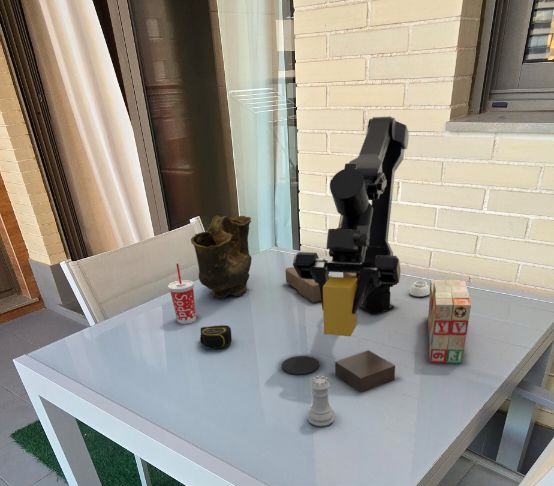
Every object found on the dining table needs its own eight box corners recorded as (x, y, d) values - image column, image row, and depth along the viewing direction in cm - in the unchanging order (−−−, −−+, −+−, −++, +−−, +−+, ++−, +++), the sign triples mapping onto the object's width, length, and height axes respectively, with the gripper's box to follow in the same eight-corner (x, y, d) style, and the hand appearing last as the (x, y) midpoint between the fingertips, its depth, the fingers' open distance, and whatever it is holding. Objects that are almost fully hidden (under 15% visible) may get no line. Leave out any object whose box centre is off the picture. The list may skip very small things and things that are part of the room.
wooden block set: (314, 283, 131) (283, 264, 145) (314, 305, 135) (285, 284, 149) (373, 269, 137) (338, 252, 150) (373, 291, 140) (338, 272, 154)
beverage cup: (169, 323, 131) (158, 266, 123) (182, 314, 136) (172, 258, 128) (191, 326, 129) (181, 268, 121) (203, 316, 133) (195, 259, 126)
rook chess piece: (306, 414, 93) (304, 374, 89) (331, 411, 94) (331, 371, 89) (309, 429, 90) (308, 387, 85) (336, 426, 90) (336, 384, 85)
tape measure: (232, 337, 122) (230, 322, 120) (232, 350, 116) (230, 334, 114) (202, 340, 122) (199, 324, 120) (200, 353, 116) (198, 337, 114)
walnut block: (335, 375, 104) (335, 361, 103) (368, 363, 107) (368, 350, 106) (360, 392, 98) (360, 378, 97) (394, 379, 101) (395, 365, 100)
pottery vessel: (228, 275, 158) (219, 204, 147) (263, 276, 155) (257, 204, 144) (191, 307, 139) (179, 228, 128) (230, 310, 135) (221, 229, 124)
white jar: (413, 289, 139) (406, 296, 135) (414, 278, 137) (407, 284, 134) (432, 292, 136) (425, 298, 133) (433, 280, 135) (426, 287, 131)
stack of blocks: (427, 319, 123) (432, 265, 116) (455, 319, 122) (462, 265, 115) (429, 363, 106) (435, 303, 99) (463, 364, 105) (471, 303, 98)
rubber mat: (274, 364, 110) (274, 362, 110) (306, 353, 113) (306, 352, 113) (294, 379, 104) (294, 377, 104) (326, 367, 107) (326, 366, 107)
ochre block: (330, 323, 102) (330, 276, 97) (356, 325, 100) (357, 278, 95) (323, 334, 98) (322, 286, 93) (350, 336, 96) (351, 288, 91)
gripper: (293, 205, 93) (276, 289, 91) (402, 206, 87) (386, 296, 85) (308, 238, 104) (293, 315, 102) (406, 241, 98) (392, 322, 96)
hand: (338, 312), depth 96 cm, fingers closed on ochre block, 5 cm apart
